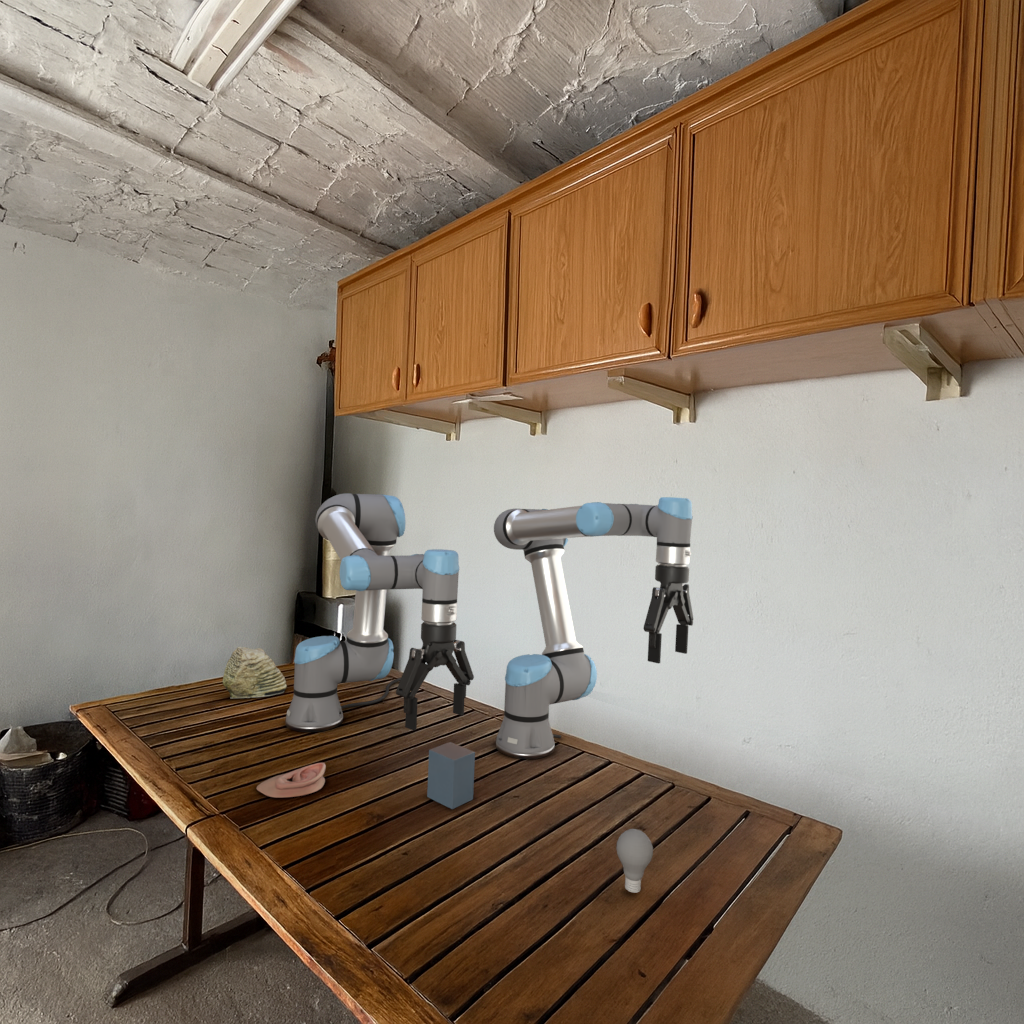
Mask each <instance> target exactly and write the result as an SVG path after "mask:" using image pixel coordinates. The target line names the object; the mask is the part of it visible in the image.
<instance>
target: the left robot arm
mask: <svg viewBox="0 0 1024 1024" xmlns="http://www.w3.org/2000/svg"><path fill="white" fill-rule="evenodd" d="M406 523H407V522H406V514H405V509H404V506H403V503H402V501H401V500H400V498H398V497H397V496H395V495H389V494H377V493H376V494H375V493H350V492H349V493H348V492H346V493H345V492H344V493H339V494H336V495H334V496H332V497H330V498H327V499H326V500H325V501H324V502H323V503H321V505H320V506H319V508H318V509H317V512H316V515H315V526H316V529H317V531H318V533H319V534H320V536H321V537H322V538H323V539H325V540H327V541H329V543H330V545H331V547H332V548H333V550H334V551H335V554H336V555H337V557H338V558H339V560H340V564H339V580H340V585H341V587H342V588H343V589H344V590H346V591H355V595H354V608H353V610H354V611H353V620H352V628H351V629H350V630H349V631H348V632H347V633H346V638H345V639H346V640H343V641H342V640H340V638H339V637H338V636H335V635H321V636H315V637H310V638H307V639H304V640H303V641H300V642H299V643H298V644H297V645H296V648H295V652H294V653H295V654H294V660H293V663H294V672H293V673H294V674H293V675H294V676H293V695H292V696H293V697H292V699H291V702H290V704H289V708H288V709H287V711H286V715H285V726H286V728H287V729H289V730H291V731H294V732H295V731H296V732H301V733H316V732H325V731H329V730H332V729H335V728H337V727H339V726H340V725H342V723H343V722H344V714H343V710H344V709H349V708H353V707H359V706H360V707H361V706H367V705H368V706H369V705H374V704H376V703H380V702H381V701H383V700H384V699H385V698H386V697H387V696H388V695H389V693H390V687H391V686H392V685H393V684H396V683H398V682H399V683H398V685H397V688H396V690H395V695H396V696H399V697H402V698H403V713H404V714H405V718H404V721H405V722H404V728H406V729H409V730H411V731H417V729H418V728H417V727H418V726H417V725H418V702H419V701H418V697H415V696H416V695H417V693H418V692H419V690H420V688H421V686H422V685H423V683H424V681H425V680H426V678H427V676H428V675H429V673H430V672H431V671H432V670H433V669H434V668H438V667H440V666H445V667H446V668H447V669H448V671H449V672H450V674H451V675H452V676H453V678H454V680H455V681H456V683H453V696H452V697H453V701H452V713H453V714H455V715H458V716H461V717H463V716H464V715H465V699H466V697H467V686H470V685H471V683H472V682H471V681H473V680H474V678H475V676H474V672H473V670H472V666H471V664H470V661H469V658H468V655H467V652H466V643H465V641H463V640H459V639H457V623H456V621H457V618H458V617H457V616H458V595H459V594H458V593H459V592H458V591H459V573H460V564H459V563H460V562H459V561H460V560H459V559H460V558H459V553H458V552H457V551H456V550H452V549H441V548H438V549H437V548H433V549H427V550H425V551H424V553H415V554H411V555H391V550H392V548H394V547H395V546H396V545H397V538H401V537H402V536H404V534H405V531H406ZM388 590H422V598H421V616H420V617H421V618H420V619H421V620H422V623H421V624H420V640H421V641H422V646H421V648H416V647H410V649H409V652H408V653H409V654H408V660H407V662H406V665H405V668H404V670H403V672H402V675H401V677H398V678H396V679H393V680H391V681H390V682H389V683H388V684H387V685H386V686H385V692H384V693H383V695H382V696H380V697H378V698H376V699H372V700H367V701H361V702H360V701H359V702H353V703H347V704H343V705H341V702H340V699H339V695H338V685H339V684H346V683H347V684H348V683H358V682H367V681H369V682H373V681H375V680H381V679H384V678H386V677H387V676H388V675H389V674H390V672H391V670H392V667H393V664H394V656H395V652H394V644H393V641H392V640H391V638H389V634H388V633H387V632H386V631H385V629H384V626H385V613H386V603H387V592H388ZM453 653H454V655H453Z"/></svg>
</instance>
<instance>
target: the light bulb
mask: <svg viewBox="0 0 1024 1024" xmlns="http://www.w3.org/2000/svg"><path fill="white" fill-rule="evenodd" d="M615 849H616V854H617V857H618V859H619V861H620V863H621V865H622V867H623V873H624V874H623V875H624V876H625V878H624V888H625V890H627V891H628V892H630V893H634V894H635V893H639V892H640V891H641V889H642V887H641V886H642V879H643V877H644V875H645V871H646V868H647V867H648V866H649V864H650V863H651V861H652V859H653V855H654V847H653V843H652V841H651V838H649V836H648V835H647V834H646V833H645V832H643V831H642V830H641V829H636V828H629V829H627V830H625V831H623V832H622V833H621V834H620V835H619V837H618V839H617V841H616V847H615Z"/></svg>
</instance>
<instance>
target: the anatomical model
mask: <svg viewBox="0 0 1024 1024" xmlns="http://www.w3.org/2000/svg"><path fill="white" fill-rule="evenodd" d="M326 768H327V765H326V763H325V762H316V763H313V764H309V765H306V766H302V767H300V768H297V769H294V770H292V771H289V772H286V773H282V774H278V775H275V776H273V777H270V778H267V779H265V780H264V781H262V782H261V783H259V784H258V785H256V790H257V792H259V793H261V794H263V795H264V796H267V797H270V798H275V799H278V798H293V797H294V798H295V797H300V796H301V797H302V796H306V795H309V794H312V793H315V792H318V791H320V790H321V789H322V788H323V787H324V785H325V783H326V778H325V777H324V775H325V772H326V770H327V769H326Z"/></svg>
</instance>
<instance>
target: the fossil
mask: <svg viewBox="0 0 1024 1024" xmlns="http://www.w3.org/2000/svg"><path fill="white" fill-rule="evenodd" d="M222 676H223V677H222V685H223V687H224V688H225V690H226V691H228V693H229V698H230V699H250V698H264V697H271V696H275V695H281V694H284V693H285V691H286V689H287V687H288V686H287V680H286V678H285V676H284V674H283V673H282V672H281V669H279V668H278V667H277V665H276V663H275V662H274V660H273V659H272V658H271V657H270V656H269V655H268V654H267V653H266V652H265V650H264V649H263V648H260V647H258V648H251V647H247V646H246V647H245V646H238V647H237V648H236V649H235V650H233V651H232V653H231V656H230V657H229V659H228V660H227V663H226V666H225V668H224V671H223V675H222Z"/></svg>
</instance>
